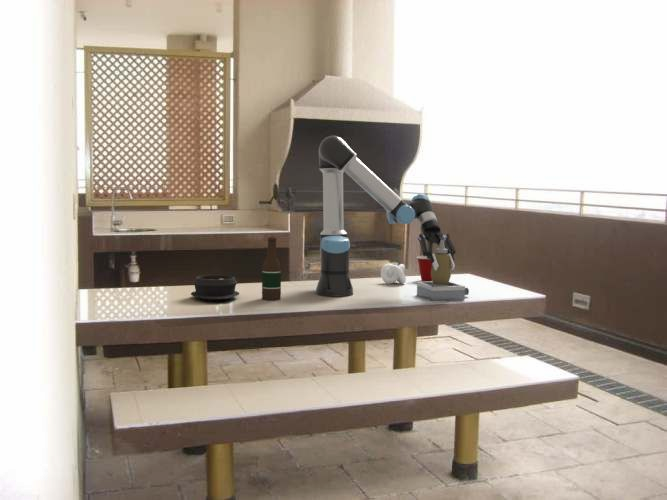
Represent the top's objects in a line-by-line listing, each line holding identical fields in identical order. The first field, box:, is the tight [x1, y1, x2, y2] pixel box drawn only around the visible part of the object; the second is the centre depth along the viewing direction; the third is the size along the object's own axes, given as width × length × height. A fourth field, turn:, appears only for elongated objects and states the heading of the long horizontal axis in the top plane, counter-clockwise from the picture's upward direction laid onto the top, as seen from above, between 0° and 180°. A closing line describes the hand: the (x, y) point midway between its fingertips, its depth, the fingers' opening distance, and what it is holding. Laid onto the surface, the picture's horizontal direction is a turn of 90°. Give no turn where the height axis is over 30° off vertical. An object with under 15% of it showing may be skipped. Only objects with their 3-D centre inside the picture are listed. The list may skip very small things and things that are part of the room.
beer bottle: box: [261, 236, 282, 301], centre depth 261 cm, size 8×8×24 cm
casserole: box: [190, 274, 240, 302], centre depth 260 cm, size 25×19×8 cm
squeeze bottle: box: [431, 239, 452, 285], centre depth 272 cm, size 8×8×18 cm
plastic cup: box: [416, 255, 432, 282], centre depth 324 cm, size 11×11×12 cm
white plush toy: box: [380, 263, 407, 285], centre depth 312 cm, size 11×12×9 cm
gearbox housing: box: [416, 281, 470, 302], centre depth 274 cm, size 19×15×6 cm
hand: (445, 268), depth 269 cm, fingers closed on squeeze bottle, 6 cm apart
